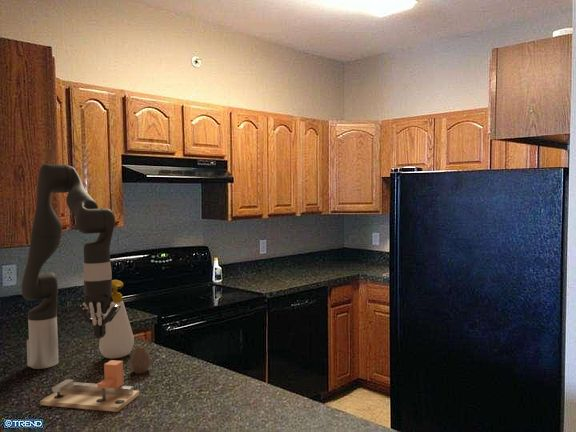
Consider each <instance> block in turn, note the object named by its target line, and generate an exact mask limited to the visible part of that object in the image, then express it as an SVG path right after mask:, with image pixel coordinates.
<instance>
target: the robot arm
mask: <svg viewBox="0 0 576 432" xmlns="http://www.w3.org/2000/svg"><path fill="white" fill-rule="evenodd" d="M52 193H53V194H54V193H57V194H58V193H59V194H61V193H62V194H66V193H67V194H66V199H65V201H66V205H67V207H68V209H69V211H70V212H71V213H72V214H73V216H74V219H75V226H76V229H77V230H78V231H79V232H80V233H83V234H86V235H87V234H88V235H90V234H99V235H98V237H97V238H96V239H95V240H92V241H89V242H85V244H84V245H83V290H84V291H83V292H84V295H85V298H84V302H83V303H82V304H80V305H78V306H77V310H78V311H79V313H80V314H81V315H82V316H83V318H84V319H85V321H86V323H88V324H92V325H93V333H94V337H95V338H96V339H100V338H102V337H104V335H105V334H106V326H105V325H106V323H108V322H110V321H112V319H113V318H114V316H115V315H116V314H117V312H118V311H119V309H120V305H116V304H115V303H114V302H113V298H112V293H113V288H112V280H113V279H112V278H113V277H112V276H113V275H112V274H113V273H112V272H113V271H112V265H111V253H110V251H111V249H110V248H111V243H112V242H111V241H112V237H113V235H114V234H113V233H114V229H115V225H116V217H115V214H114V212H113V211H112V210H111V209H110V208H99V206H98V204H97V202H96V201H95V199H93V197H92V196H91V195H90V194H89V193H88V191H87V190H86V189H85V186H84V183H83V181H82V179H81V177H80V175H79V173H78V171H77V169H76V168H74V167H73V166H71V165H67V164H54V163H43V164H42V165H40V168H39V170H38V177H37V189H36V204H35V210H34V218H33V221H32V228H31V233H30V240H29V241H30V242H29V250H28V257H27V262H26V265H25V269H24V272H23V277H22V282H21V294H22V297H23V298H24V300H27V301H38V300H42V299H43V300H42V301H41V302H40V303H39V304H38V305H36V306H35V307H33V308H31V309H30V310H28V312H27V319H28V322H27V323H28V339H27V340H26V359H27V360H26V361H27V367H29V368H31V369H33V370H34V369H35V370H40V369H47V368H52V367H55V366H56V365H58V364H59V340H58V339H59V338H58V334H59V333H58V293H59V289H58V279H57V278H58V277H57V276H56V274H55V273H54V272H53V271H46V272H41V269H42V267H43V266H44V265H45V264H46V262H47V261H48V260H49V259H50V258H51V257H52V256H53V255H54V253H55V252H56V251H57V250H58V248H59V247H60V244H61V239H62V235H63V225H62V222H61V220H60V217H59V216H58V215H57V213H56V212H55V210H54V208H53V207H52V206H53V205H52V203H51V199H50V198H51V194H52ZM109 308H110V312H109V313H108V309H109Z"/></svg>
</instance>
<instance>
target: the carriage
mask: <svg viewBox="0 0 576 432" xmlns="http://www.w3.org/2000/svg"><path fill="white" fill-rule="evenodd" d="M103 367H104V368H103V369H104V372H103V373H104V374H103V375H104V379H103V380H101V381H100V382H98V383H96V384H97V385H98V388H102V400H105V399H106V395H105V388H118V387H120V386H123V385H124V383H125V382H124V360H113V359H110V360H108V362H105V363H104V364H103Z"/></svg>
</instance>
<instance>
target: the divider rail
mask: <svg viewBox="0 0 576 432" xmlns="http://www.w3.org/2000/svg"><path fill="white" fill-rule="evenodd" d="M97 384H98V383H92V382H78V381H74V379H69V378H67V379H64V380H63V381H61V382H59V383H57V384H55V385H54V386H53V387H51V389H52V390H51V391H52V392H53V393H54V392H57V397H60V391H62V390H64V391H77V392H89V393H102V388H98V385H97ZM133 390H134V386H131V385H121V386H120V387H118V388H105V394H114V395H126V396H130V395H131V394H133Z"/></svg>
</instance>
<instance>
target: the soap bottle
mask: <svg viewBox="0 0 576 432" xmlns="http://www.w3.org/2000/svg"><path fill="white" fill-rule="evenodd" d="M123 287H124V283H123V281H121V280H118V279H112V298H113V302H114V303H115V304H116V305H120V309H119V311H118V312H117V314H116V315H115V316H114V318H113V319H112V321H110V322H108V323H106V325H105V326H106V334H105V335H104V337H102V338H99V342H98V350H99V351H100V354H101V355H102V356H103V357H104V358H106V359H110V360H113V359H120V358H124V357H126V356H127V355H129V354H130V353H131V351H132V350H133V348H134V345H135V337H134V334H133V330H132V327H131V326H132V325H131V324H130V320H129V317H128V313H127V310H126V307H125V303H124V301H123V294H122V293H121V292H118V290H119V289H122V288H123ZM109 312H110V308H109V309H108V313H109Z"/></svg>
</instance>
